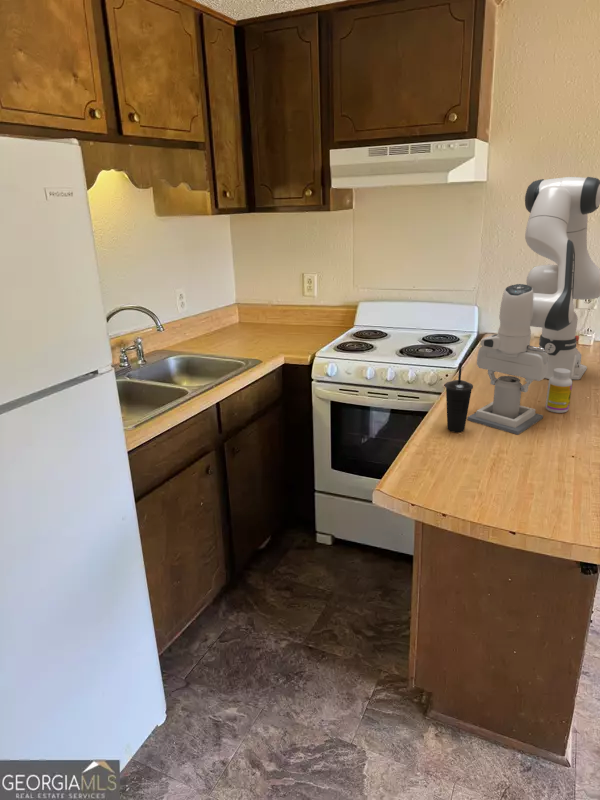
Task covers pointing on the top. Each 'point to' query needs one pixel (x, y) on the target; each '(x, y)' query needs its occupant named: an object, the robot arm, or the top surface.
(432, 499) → the top surface
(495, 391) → the can
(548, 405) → the supplement bottle
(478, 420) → the grey flat square tray
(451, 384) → the drinking cup
